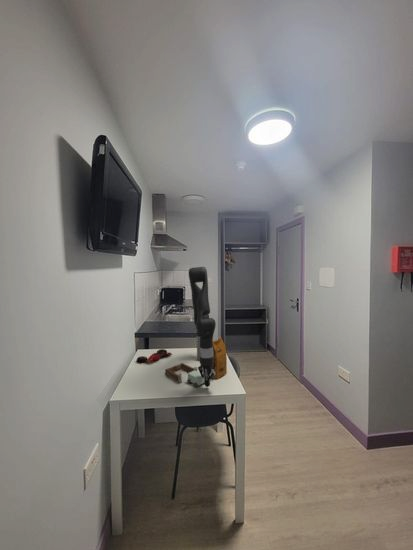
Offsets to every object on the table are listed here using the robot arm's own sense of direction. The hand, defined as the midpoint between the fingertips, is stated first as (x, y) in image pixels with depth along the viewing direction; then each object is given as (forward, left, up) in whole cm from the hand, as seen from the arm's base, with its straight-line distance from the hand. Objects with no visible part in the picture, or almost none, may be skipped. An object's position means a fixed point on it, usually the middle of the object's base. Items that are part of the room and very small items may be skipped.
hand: (207, 386), depth 128 cm
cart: (0, -9, -1) cm, 9 cm away
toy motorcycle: (-3, -57, -2) cm, 57 cm away
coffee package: (-16, -8, -2) cm, 18 cm away
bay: (0, -23, -1) cm, 23 cm away
